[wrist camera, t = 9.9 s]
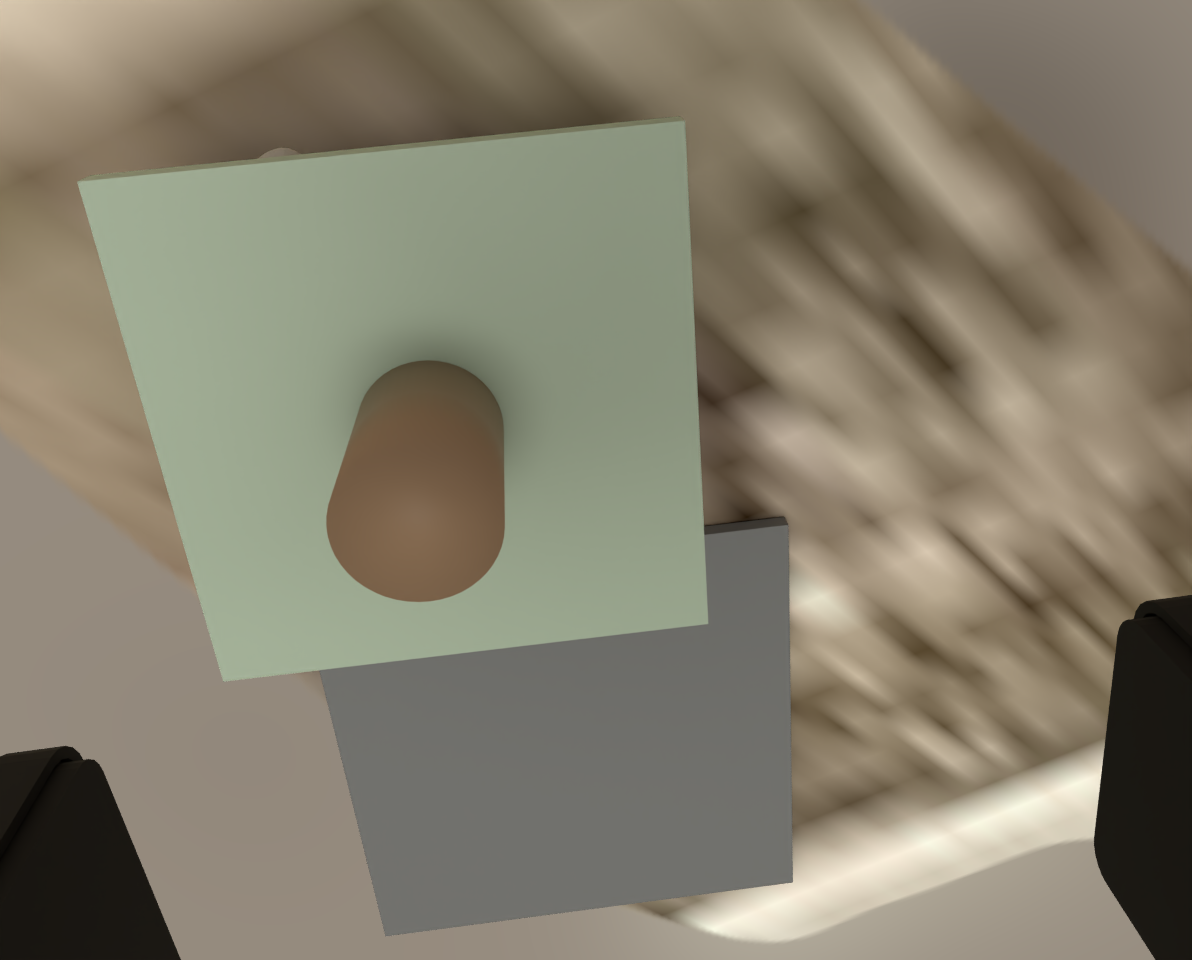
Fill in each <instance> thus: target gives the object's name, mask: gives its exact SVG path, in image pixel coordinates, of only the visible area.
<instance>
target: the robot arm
mask: <svg viewBox="0 0 1192 960" xmlns="http://www.w3.org/2000/svg"><path fill="white" fill-rule="evenodd" d="M1094 847H1095V854H1096V858H1097V862H1098V866H1099V868H1100V871H1101V874H1102V876H1103V878H1104V880H1105V882H1106V883H1107V885H1108V887H1109V888H1110V890H1111V891H1112V893H1113V894H1114V896H1115V897H1116V899H1117V901H1118V902H1119V904H1120V905H1121V907H1122V908H1123V910H1124V911H1125V913H1126V914H1127V916H1128V917H1129V919H1130V921H1131V922H1132V924H1133V925H1134V927H1135V929H1136V930H1137V931H1138V933H1139V935H1140V936H1141V938H1142V940H1143V941H1144V942H1145V944H1146V946H1147V947H1148V949H1149V950H1150V952H1151V954H1152V955H1153V957H1154V958H1155V960H1192V595H1188V596H1181V597H1173V598H1166V599H1158V600H1151V601H1146V602H1144V603H1142V604H1140V606H1139V607H1138V609H1137V610H1136V612H1135V616H1134V619H1131V620H1126V621H1124V622H1123V623H1122V624H1121V626H1120V627H1119V631H1118V635H1117V644H1116V653H1115V662H1114V670H1113V679H1112V688H1111V696H1110V705H1109V714H1108V722H1107V731H1106V740H1105V748H1104V757H1103V766H1102V774H1101V783H1100V792H1099V800H1098V809H1097V818H1096V827H1095V835H1094ZM0 960H181V959H180V957H179V954H178V952H177V949H176V947H175V945H174V942H173V940H172V937H171V935H170V932H169V930H168V927H167V925H166V923H165V921H164V918H163V916H162V913H161V911H160V908H159V906H158V903H157V901H156V899H155V896H154V894H153V891H152V889H151V886H150V884H149V882H148V879H147V877H146V874H145V872H144V869H143V867H142V864H141V862H140V859H139V857H138V855H137V852H136V850H135V847H134V845H133V843H132V840H131V838H130V835H129V833H128V831H127V828H126V826H125V823H124V821H123V818H122V816H121V813H120V811H119V809H118V806H117V804H116V801H115V799H114V796H113V794H112V791H111V789H110V787H109V784H108V782H107V779H106V777H105V775H104V772H103V770H102V768H101V767H100V765H99V764H98V763H97V762H96V761H95V760H91V759H86V760H83V759H82V757H81V755H80V753H78V752H77V751H76V750H75V749H74V748H73V747H68V746H61V747H54V748H47V749H39V750H32V751H24V752H17V753H9V754H5V755H3V756H0Z"/></svg>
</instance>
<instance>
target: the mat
mask: <svg viewBox="0 0 1192 960" xmlns="http://www.w3.org/2000/svg"><path fill="white" fill-rule="evenodd" d="M704 541H705V563H706V584H707V606H708V624H704V625H695V626H687V627H678V628H670V629H662V630H653V631H645V632H636V633H628V634H619V635H611V636H603V637H594V638H586V639H577V640H569V641H561V642H552V643H544V644H535V645H527V646H519V647H510V648H502V649H493V650H485V651H476V652H468V653H460V654H451V655H443V656H434V657H426V658H418V659H409V660H401V661H392V662H384V663H376V664H367V665H359V666H350V667H342V668H333V669H325V670H319V671H320V675H321V679H322V683H323V687H324V691H325V695H326V699H327V703H328V707H329V711H330V715H331V719H332V723H333V727H334V731H335V735H336V739H337V743H338V747H339V751H340V755H341V759H342V763H343V767H344V771H345V775H346V779H347V783H348V787H349V791H350V795H351V799H352V803H353V807H354V811H355V815H356V819H357V824H358V828H359V832H360V835H361V839H362V844H363V848H364V852H365V856H366V860H367V864H368V868H369V872H370V876H371V880H372V884H373V888H374V892H375V896H376V899H377V904H378V908H379V912H380V915H381V920H382V924H383V928H384V931H385V936H391V935H399V934H406V933H414V932H422V931H429V930H437V929H444V928H452V927H459V926H467V925H474V924H482V923H489V922H497V921H504V920H512V919H520V918H527V917H535V916H542V915H550V914H557V913H565V912H572V911H580V910H588V909H595V908H603V907H610V906H618V905H626V904H633V903H641V902H648V901H656V900H663V899H671V898H678V897H686V896H693V895H701V894H709V893H716V892H724V891H731V890H739V889H746V888H754V887H761V886H769V885H777V884H784V883H792V882H793V862H792V782H791V702H790V621H789V541H788V523H787V521H786V520H785V518H784V517H779V518H771V519H763V520H754V521H746V522H738V523H729V524H721V525H713V526H704Z"/></svg>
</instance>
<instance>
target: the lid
mask: <svg viewBox="0 0 1192 960" xmlns="http://www.w3.org/2000/svg"><path fill="white" fill-rule="evenodd" d="M78 186H79V189H80V193H81V196H82V199H83V203H84V206H85V210H86V213H87V217H88V220H89V223H90V227H91V230H92V234H93V237H94V241H95V244H96V247H97V251H98V254H99V258H100V261H101V264H102V268H103V271H104V275H105V278H106V282H107V285H108V288H109V292H110V295H111V299H112V302H113V306H114V309H115V312H116V316H117V319H118V323H119V326H120V330H121V333H122V336H123V340H124V343H125V347H126V350H127V353H128V357H129V360H130V364H131V367H132V371H133V374H134V377H135V381H136V384H137V388H138V391H139V395H140V398H141V401H142V405H143V408H144V412H145V415H146V418H147V422H148V425H149V429H150V432H151V436H152V439H153V442H154V446H155V449H156V453H157V456H158V460H159V463H160V466H161V470H162V473H163V477H164V480H165V483H166V487H167V490H168V494H169V497H170V501H171V504H172V507H173V511H174V514H175V518H176V521H177V525H178V528H179V531H180V535H181V538H182V542H183V545H184V549H185V552H186V555H187V559H188V562H189V566H190V569H191V572H192V576H193V579H194V583H195V586H196V590H197V593H198V596H199V600H200V603H201V607H202V610H203V614H204V617H205V620H206V624H207V627H208V630H209V634H210V637H211V641H212V644H213V647H214V651H215V655H216V658H217V661H218V665H219V668H220V672H221V675H222V678H223V681H232V680H241V679H249V678H258V677H266V676H274V675H282V674H291V673H300V672H308V671H317V670H325V669H333V668H342V667H350V666H359V665H367V664H376V663H384V662H392V661H401V660H409V659H418V658H426V657H434V656H443V655H451V654H460V653H468V652H476V651H485V650H493V649H502V648H510V647H519V646H527V645H535V644H544V643H552V642H561V641H569V640H577V639H586V638H594V637H603V636H611V635H619V634H628V633H636V632H645V631H653V630H662V629H670V628H678V627H687V626H695V625H704V624H708V606H707V584H706V563H705V541H704V519H703V498H702V476H701V455H700V433H699V411H698V390H697V368H696V347H695V325H694V303H693V282H692V260H691V238H690V217H689V195H688V174H687V152H686V130H685V120H683V119H682V118H681V117H680V116H678V117H668V118H658V119H648V120H638V121H628V122H618V123H608V124H598V125H588V126H578V127H568V128H558V129H548V130H538V131H528V132H518V133H508V134H498V135H488V136H478V137H468V138H458V139H448V140H438V141H428V142H418V143H408V144H398V145H388V146H379V147H369V148H359V149H349V150H339V151H329V152H319V153H309V154H299V155H289V156H279V157H269V158H259V159H249V160H239V161H229V162H219V163H209V164H199V165H189V166H179V167H169V168H159V169H149V170H139V171H129V172H119V173H109V174H99V175H90V176H88V177H86V178H84V179H82V180H80V181H78Z"/></svg>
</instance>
